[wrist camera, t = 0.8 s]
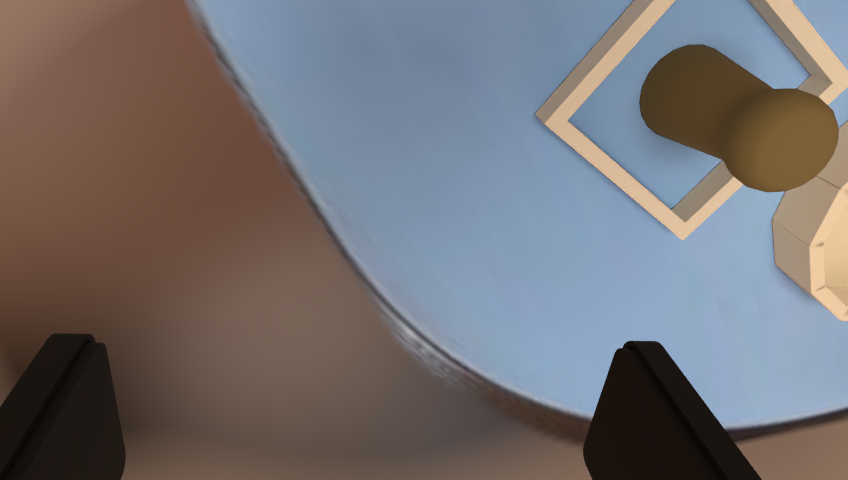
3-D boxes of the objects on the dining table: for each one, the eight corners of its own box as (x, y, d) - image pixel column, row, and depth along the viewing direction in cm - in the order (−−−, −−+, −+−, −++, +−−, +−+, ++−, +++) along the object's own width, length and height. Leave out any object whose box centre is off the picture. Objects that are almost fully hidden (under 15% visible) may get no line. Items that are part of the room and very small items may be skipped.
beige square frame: (706, -82, 33) (726, -82, 31) (831, 72, 38) (854, 79, 36) (534, 114, 37) (544, 123, 35) (669, 227, 42) (682, 240, 41)
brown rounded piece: (725, 128, 39) (849, 197, 30) (638, 145, 39) (734, 220, 29) (735, 35, 36) (876, 79, 27) (640, 54, 36) (747, 104, 26)
